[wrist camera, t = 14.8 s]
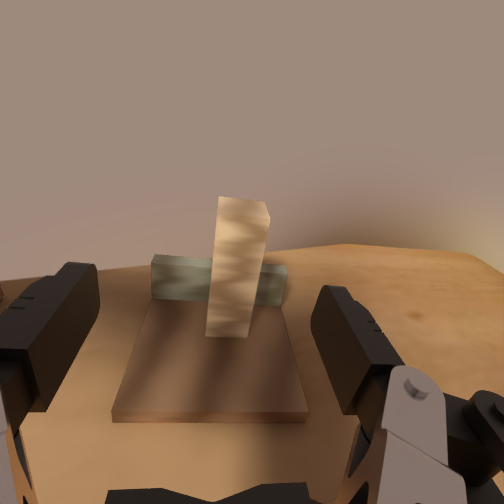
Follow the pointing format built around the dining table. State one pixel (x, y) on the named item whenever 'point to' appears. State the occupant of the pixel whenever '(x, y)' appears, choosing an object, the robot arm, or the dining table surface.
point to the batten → (236, 266)
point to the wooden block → (1, 293)
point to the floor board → (209, 355)
